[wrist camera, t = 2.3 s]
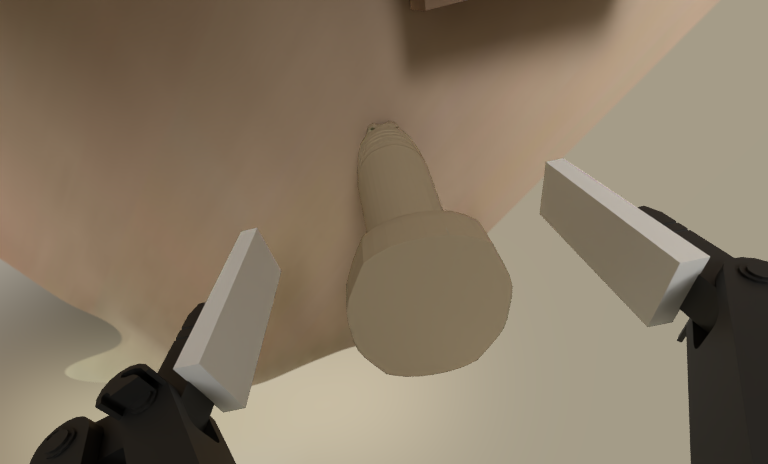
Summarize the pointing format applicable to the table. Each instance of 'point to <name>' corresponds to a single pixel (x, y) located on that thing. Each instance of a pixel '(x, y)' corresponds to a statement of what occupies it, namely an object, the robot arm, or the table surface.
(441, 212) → the handle
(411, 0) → the slot block
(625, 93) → the table surface
